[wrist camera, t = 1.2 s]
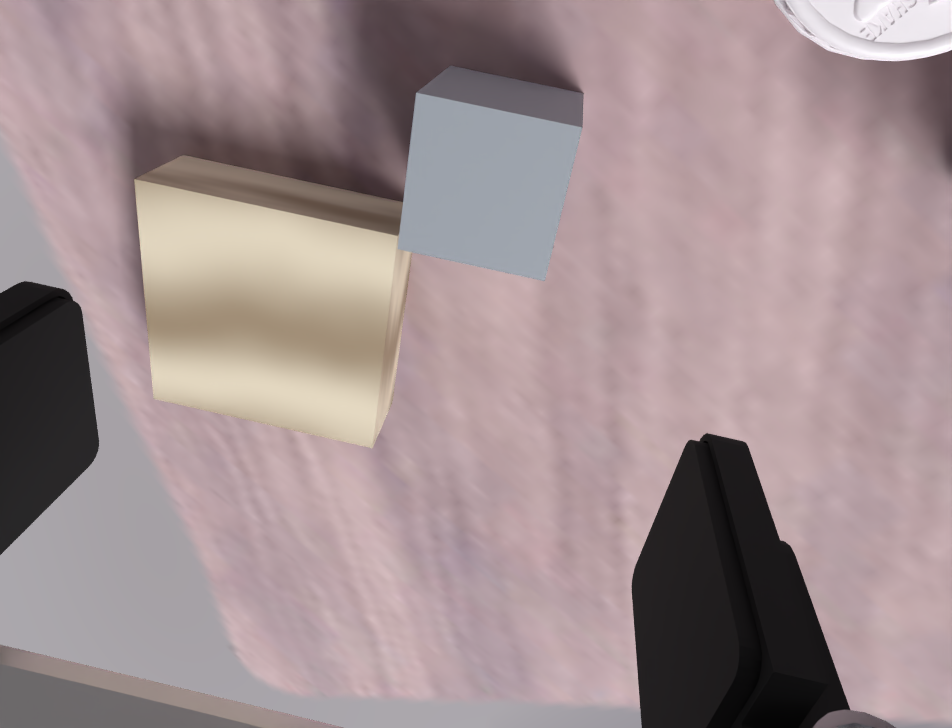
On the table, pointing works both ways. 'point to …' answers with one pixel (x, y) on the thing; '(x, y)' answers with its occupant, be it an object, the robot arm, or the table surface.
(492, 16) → the table surface
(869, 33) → the smoothie
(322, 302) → the maple block
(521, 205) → the grey block
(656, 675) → the robot arm
